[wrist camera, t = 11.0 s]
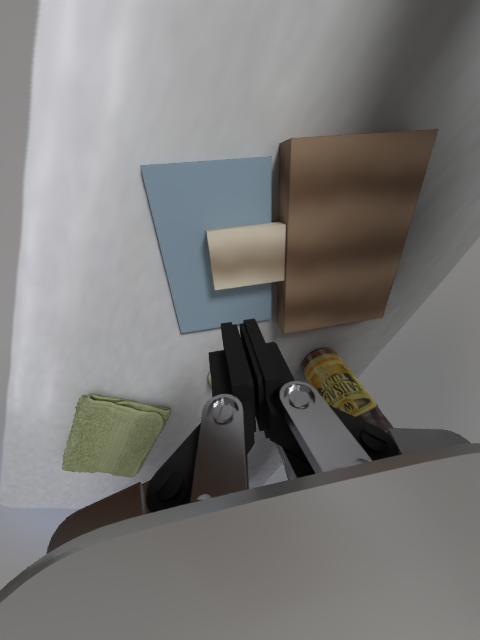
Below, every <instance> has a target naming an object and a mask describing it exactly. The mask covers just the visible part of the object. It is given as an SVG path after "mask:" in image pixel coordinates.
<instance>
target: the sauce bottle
mask: <svg viewBox="0 0 480 640" xmlns="http://www.w3.org/2000/svg"><path fill="white" fill-rule="evenodd" d="M303 372H304V374H305V377H306V379H307V381H308V383H309V384H310V385H311V386H313V387H314V388H315V389H316V390H317V391H318V393H319V394H320V395H321V396H322V398H323V399H324V400H325V401H326V403H327V404H328V405H330V406H332V407H335V408H337V409H339V410H341V411H344V412H346V413H348V414H350V415H353V416H355V417H357V418H359V419H362V420H364V421H366V422H368V423H371V424H373V425H375V426H377V427H379V428H381V429H382V430H384V431H388V429H389V428H393V427H392V425H391V424H390V422H389V421H388V420H387V419H386V418H385V416H384V415H383V414H382V412H381V411H380V409H379V408H378V406H377V404H376V403H375V401H374V400H373V399H372V398H371V396H370V395H369V394H368V392H367V391H366V390H365V388H364V387H363V386H362V385H361V383H360V382H359V381H358V380H357V378H356V377H355V376H354V374H353V373H352V372H351V370H350V369H349V368H348V366H347V365H346V364H345V363H344V361H343V360H342V359H341V358H340V357H339V356H338V355H337V354H336V353H335V352H334V351H333V350H331V349H319V350H316V351H313V352H312V353H311V354H310V355H309V356H307V358H306V359H305V360H304V361H303Z"/></svg>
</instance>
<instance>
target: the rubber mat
mask: <svg viewBox="0 0 480 640" xmlns="http://www.w3.org/2000/svg"><path fill="white" fill-rule="evenodd" d="M140 167H141V171H142V175H143V179H144V183H145V187H146V191H147V195H148V199H149V204H150V208H151V212H152V216H153V220H154V224H155V228H156V232H157V236H158V240H159V244H160V248H161V253H162V257H163V261H164V265H165V269H166V273H167V277H168V281H169V285H170V289H171V293H172V297H173V301H174V306H175V310H176V314H177V318H178V322H179V326H180V330H181V333H186V332H193V331H199V330H205V329H212V328H218V327H221V323H227V322H232V325H234V324H240V323H243V320H247V319H255V320H256V321H263V320H269V319H271V282H270V283H263V284H256V285H249V286H242V287H235V288H228V289H221V290H215V289H214V284H213V277H212V270H211V263H210V256H209V249H208V242H207V235H206V230H208V229H217V228H226V227H235V226H244V225H253V224H262V223H271V182H272V156H269V157H255V158H241V159H227V160H212V161H198V162H184V163H170V164H156V165H141V166H140Z"/></svg>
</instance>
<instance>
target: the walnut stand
mask: <svg viewBox="0 0 480 640" xmlns="http://www.w3.org/2000/svg"><path fill="white" fill-rule="evenodd" d="M437 132H438V129H433V130H416V131H400V132H384V133H368V134H351V135H335V136H319V137H303V138H291V139H289V140H286V141H284V142H282V143H280V165H279V222H282V223H284V224H286V247H285V280H284V281H278V286H277V323H278V325H279V326H280V328H281V329H282V331H283V333H284V334H286V333H292V332H298V331H304V330H310V329H316V328H322V327H328V326H334V325H340V324H346V323H352V322H358V321H364V320H370V319H376V318H382V317H383V315H384V312H385V308H386V305H387V302H388V298H389V295H390V291H391V288H392V285H393V281H394V278H395V274H396V271H397V268H398V264H399V261H400V257H401V254H402V251H403V247H404V244H405V240H406V237H407V234H408V230H409V227H410V224H411V220H412V217H413V213H414V210H415V207H416V203H417V200H418V196H419V193H420V190H421V186H422V183H423V179H424V176H425V173H426V169H427V166H428V162H429V159H430V156H431V152H432V149H433V146H434V142H435V139H436V135H437Z"/></svg>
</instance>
